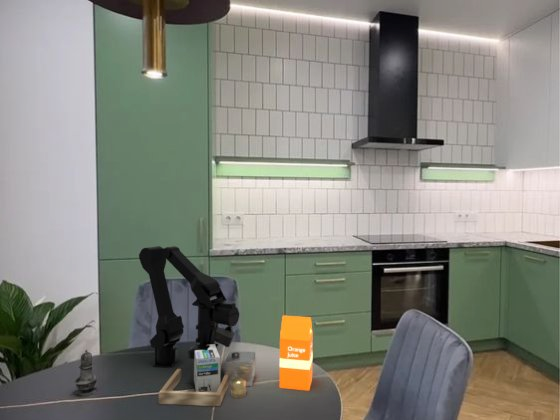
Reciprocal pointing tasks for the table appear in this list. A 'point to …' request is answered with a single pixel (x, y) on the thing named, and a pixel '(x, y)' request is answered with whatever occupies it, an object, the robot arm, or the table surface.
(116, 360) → the table surface
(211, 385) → the light bulb box
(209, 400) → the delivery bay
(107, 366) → the table surface
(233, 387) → the olive rounded piece
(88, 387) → the grey chess piece
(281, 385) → the orange juice
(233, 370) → the grey cube with knob
